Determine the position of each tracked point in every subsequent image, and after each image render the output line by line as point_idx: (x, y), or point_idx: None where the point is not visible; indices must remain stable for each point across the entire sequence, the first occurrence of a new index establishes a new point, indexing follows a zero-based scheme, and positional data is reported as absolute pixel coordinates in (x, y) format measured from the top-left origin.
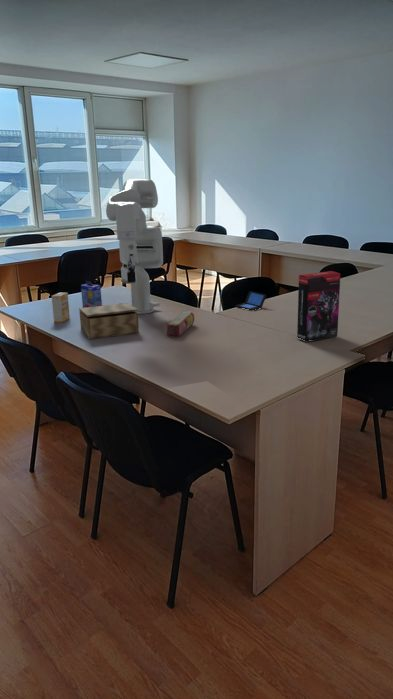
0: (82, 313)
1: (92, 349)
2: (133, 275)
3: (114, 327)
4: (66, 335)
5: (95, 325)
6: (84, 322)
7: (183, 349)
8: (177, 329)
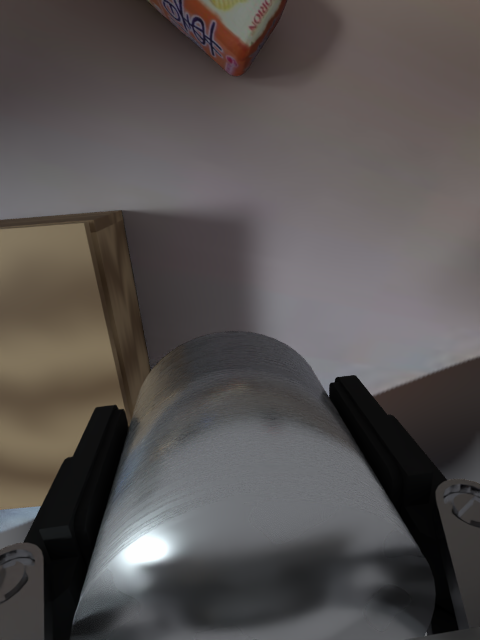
0: None
1: None
2: (425, 459)
3: (135, 339)
4: None
5: None
6: None
7: (460, 72)
8: (285, 4)
